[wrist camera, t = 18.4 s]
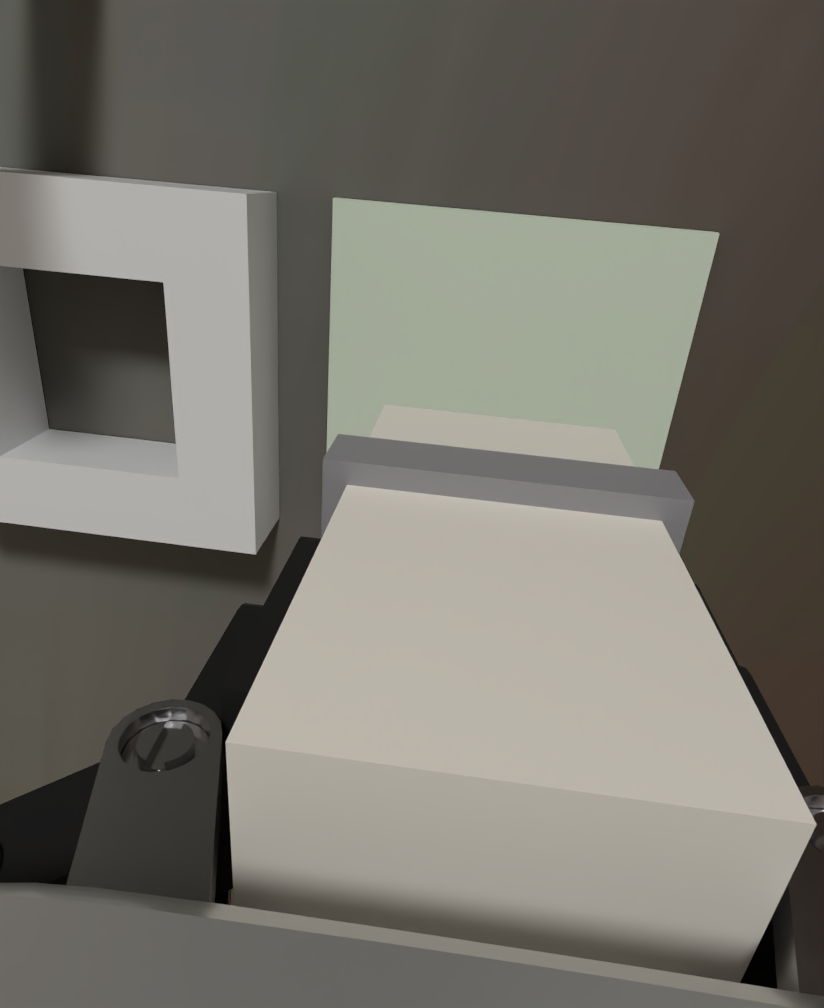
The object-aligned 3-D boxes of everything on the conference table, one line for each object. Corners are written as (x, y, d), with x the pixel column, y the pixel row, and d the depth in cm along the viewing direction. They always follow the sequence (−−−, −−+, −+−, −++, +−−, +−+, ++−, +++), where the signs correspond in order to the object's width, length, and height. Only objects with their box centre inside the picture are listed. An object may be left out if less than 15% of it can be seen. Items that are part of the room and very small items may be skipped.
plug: (638, 413, 14) (885, 796, 5) (586, 636, 17) (695, 1150, 8) (367, 384, 15) (178, 700, 6) (356, 607, 17) (210, 1069, 8)
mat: (714, 232, 21) (719, 232, 21) (630, 561, 27) (633, 569, 26) (337, 197, 22) (333, 198, 22) (328, 523, 27) (324, 530, 27)
